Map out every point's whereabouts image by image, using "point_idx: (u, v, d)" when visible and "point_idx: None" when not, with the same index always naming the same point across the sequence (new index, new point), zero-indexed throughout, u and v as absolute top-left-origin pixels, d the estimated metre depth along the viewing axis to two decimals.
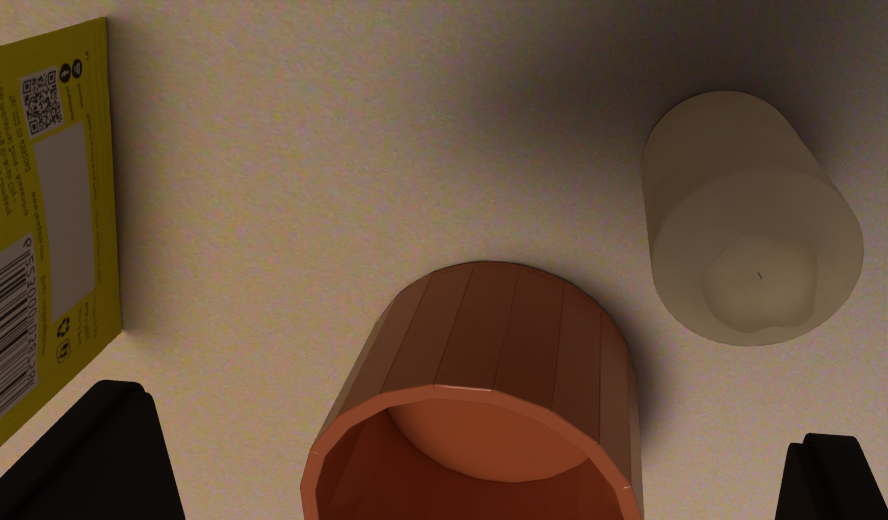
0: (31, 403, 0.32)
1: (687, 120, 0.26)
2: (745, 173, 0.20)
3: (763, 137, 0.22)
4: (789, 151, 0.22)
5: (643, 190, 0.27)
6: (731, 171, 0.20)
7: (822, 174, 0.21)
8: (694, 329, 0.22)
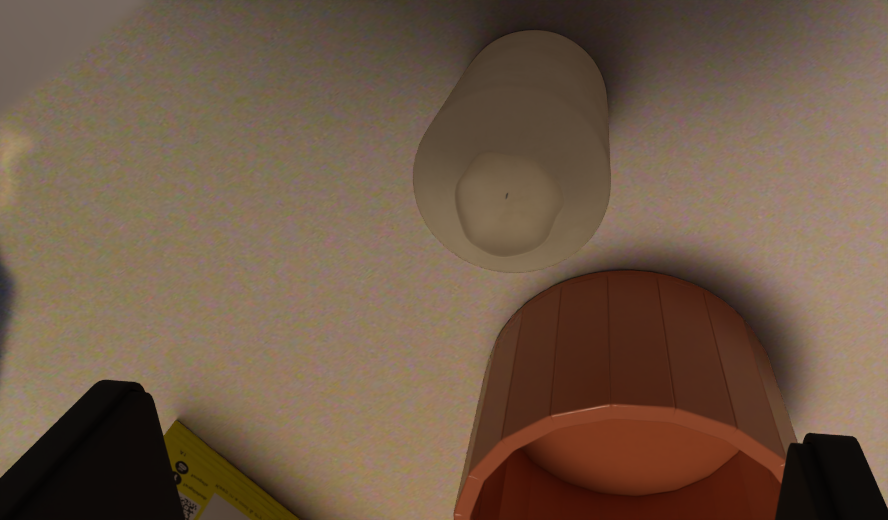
0: None
1: None
2: (419, 151, 0.21)
3: (450, 95, 0.23)
4: (459, 89, 0.22)
5: None
6: (415, 157, 0.22)
7: (482, 81, 0.21)
8: (543, 266, 0.22)
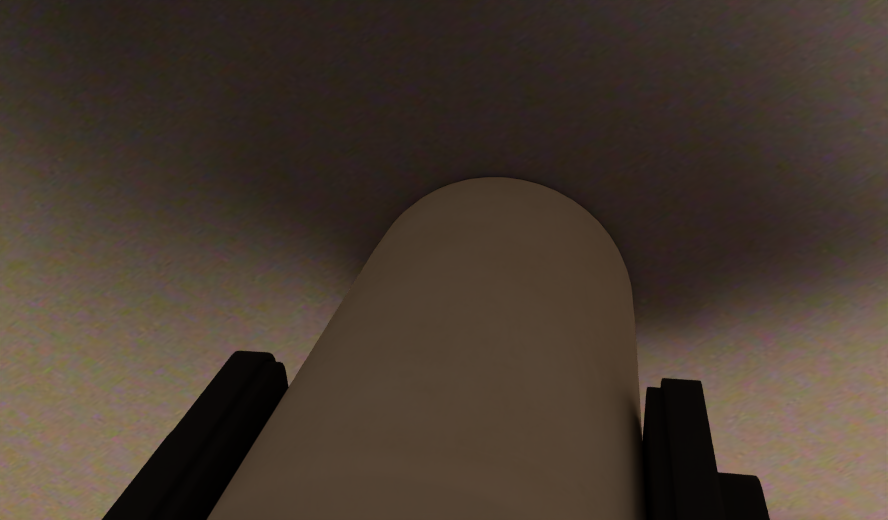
0: None
1: None
2: None
3: (300, 373, 0.11)
4: (304, 388, 0.10)
5: None
6: None
7: (342, 401, 0.09)
8: None
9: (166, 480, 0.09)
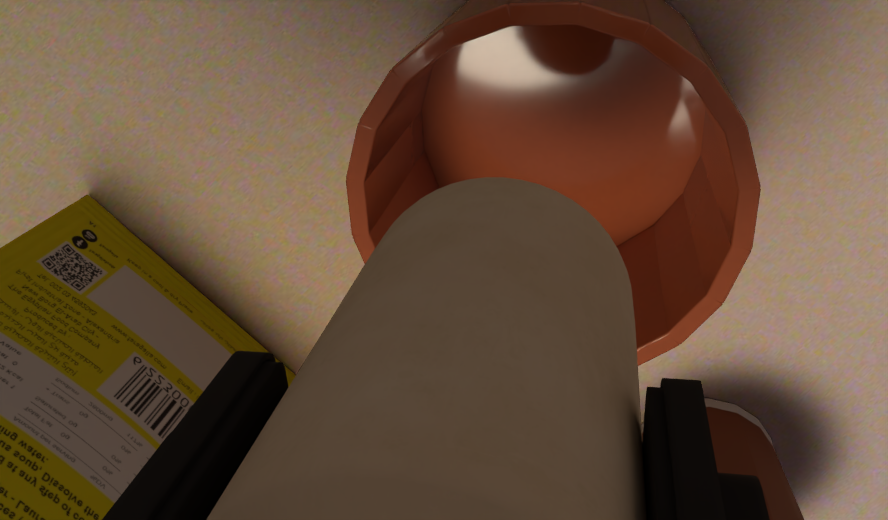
0: None
1: None
2: None
3: (299, 373, 0.11)
4: (304, 388, 0.10)
5: None
6: None
7: (342, 401, 0.09)
8: None
9: (166, 480, 0.09)
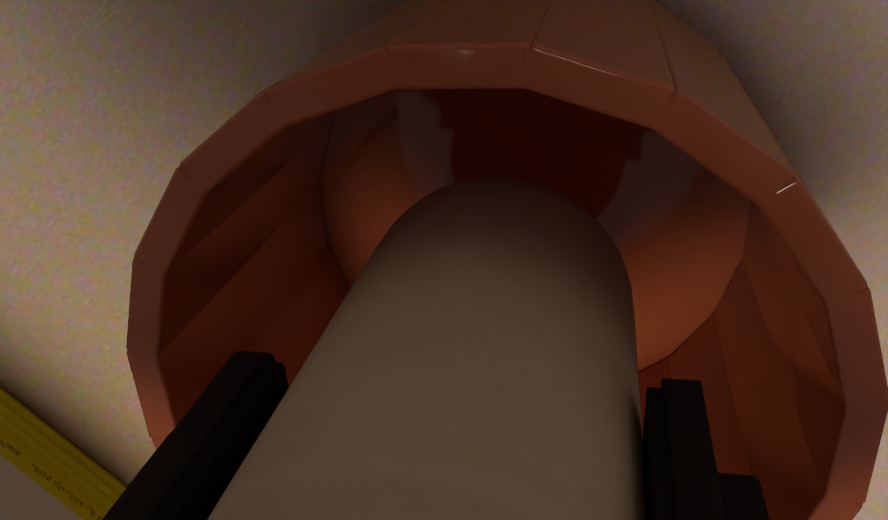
0: None
1: None
2: None
3: (299, 374, 0.11)
4: (304, 389, 0.10)
5: None
6: None
7: (342, 401, 0.09)
8: None
9: (166, 480, 0.09)
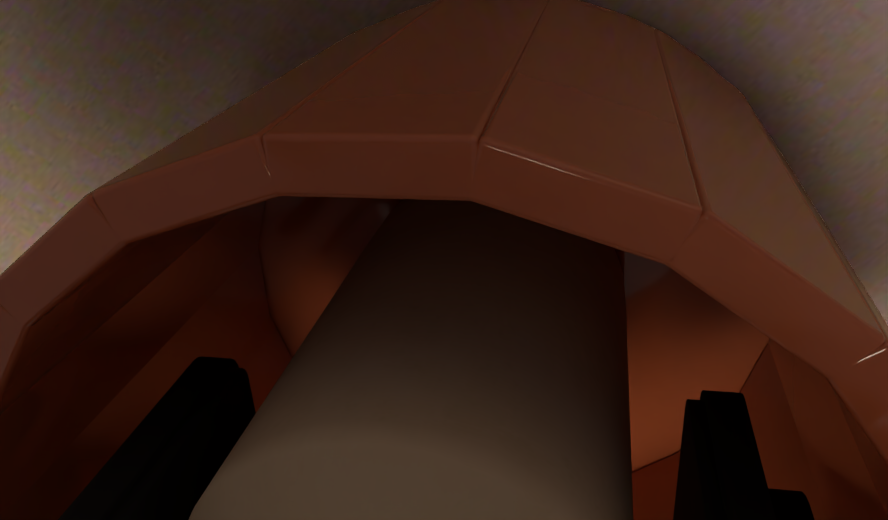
0: None
1: None
2: None
3: (295, 355, 0.11)
4: (299, 367, 0.10)
5: None
6: None
7: (335, 377, 0.09)
8: None
9: (116, 488, 0.09)
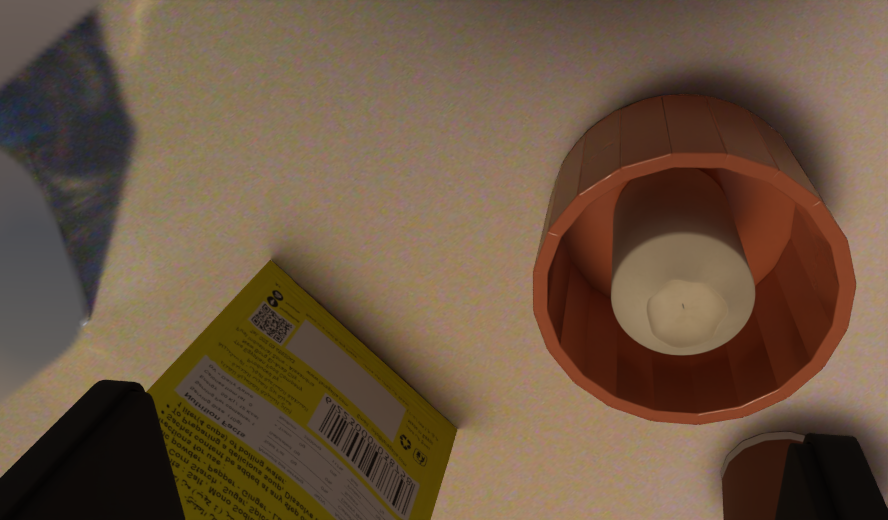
0: (425, 499, 0.41)
1: None
2: (619, 272, 0.31)
3: (630, 225, 0.33)
4: (641, 225, 0.32)
5: None
6: (614, 275, 0.31)
7: (662, 224, 0.31)
8: (702, 351, 0.31)
9: None
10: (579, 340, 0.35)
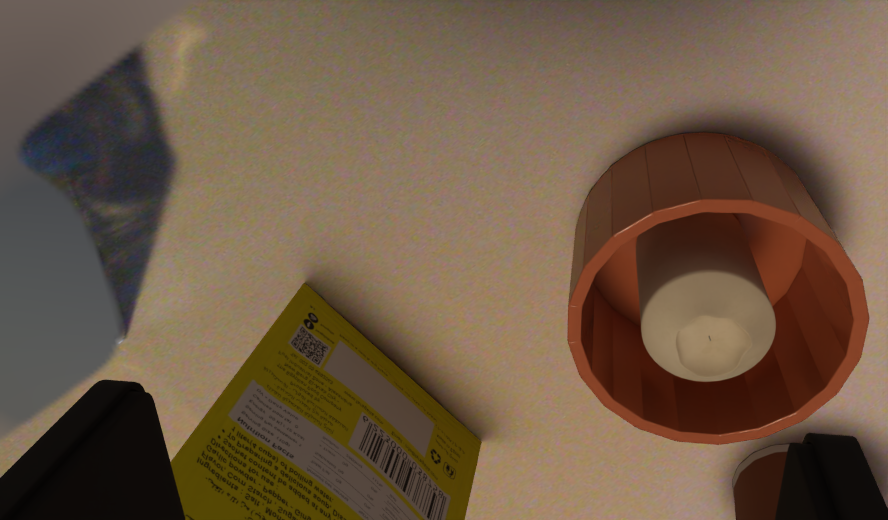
0: (456, 511, 0.44)
1: (637, 263, 0.39)
2: (649, 306, 0.33)
3: (657, 260, 0.35)
4: (669, 261, 0.34)
5: None
6: (644, 308, 0.33)
7: (689, 261, 0.33)
8: (725, 378, 0.34)
9: None
10: (607, 365, 0.37)
